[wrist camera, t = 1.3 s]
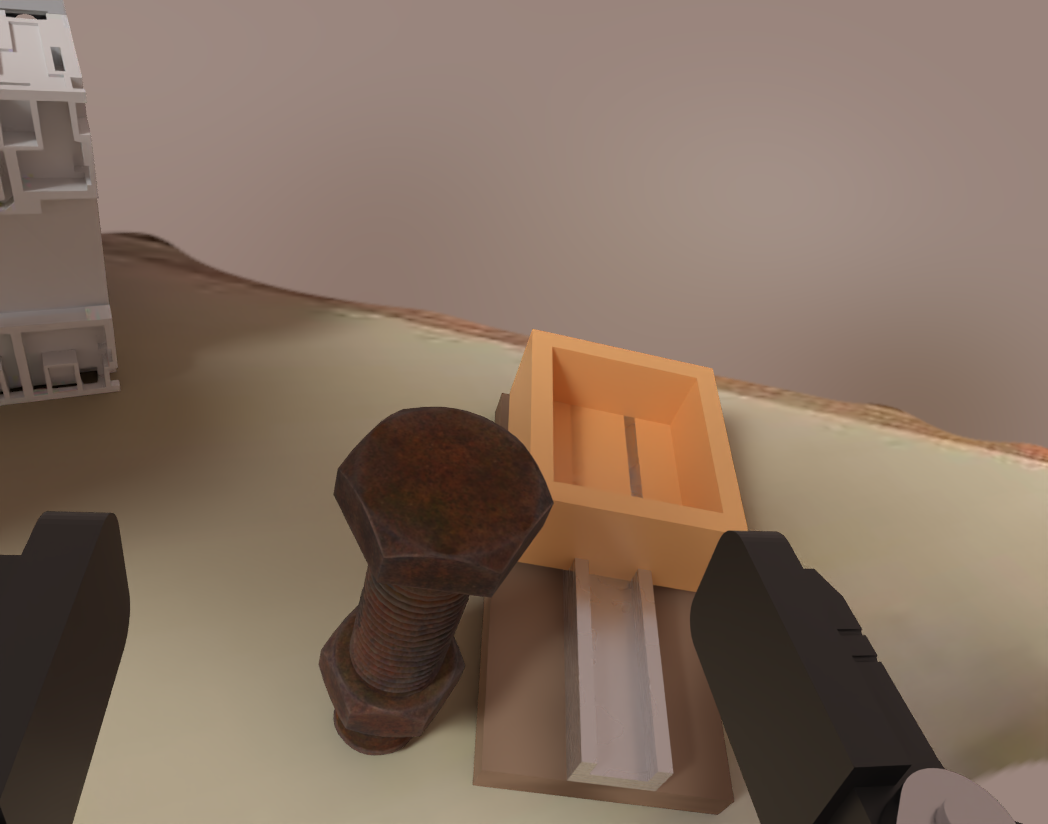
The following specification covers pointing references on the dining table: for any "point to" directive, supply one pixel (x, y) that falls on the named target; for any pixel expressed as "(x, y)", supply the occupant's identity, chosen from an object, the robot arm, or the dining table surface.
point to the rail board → (539, 697)
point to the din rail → (614, 677)
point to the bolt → (423, 562)
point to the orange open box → (625, 460)
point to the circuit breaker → (48, 215)
